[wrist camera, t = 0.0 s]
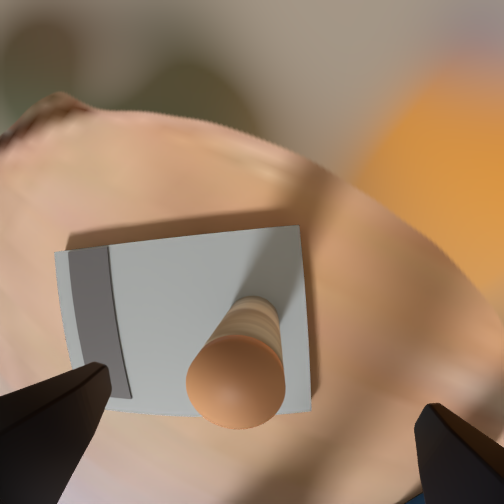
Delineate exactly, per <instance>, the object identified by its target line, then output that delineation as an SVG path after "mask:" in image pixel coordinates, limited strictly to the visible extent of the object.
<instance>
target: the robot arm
mask: <svg viewBox="0 0 504 504" xmlns="http://www.w3.org/2000/svg"><path fill="white" fill-rule="evenodd" d="M111 392H112V384H111V379H110V373H109V368H108V366H107V365H105V364H102V363H99V362H91V363H89V364H86V365H83V366H81V367H78V368H76V369H73V370H71V371H68V372H65V373H63V374H60V375H58V376H55V377H52V378H50V379H47V380H44V381H42V382H39V383H36V384H34V385H31V386H28V387H25V388H23V389H20V390H17V391H14V392H11V393H9V394H6V395H3V396H0V504H57V503H58V501H59V499H60V497H61V495H62V493H63V491H64V489H65V487H66V485H67V484H68V482H69V480H70V478H71V476H72V474H73V472H74V470H75V469H76V467H77V465H78V463H79V461H80V459H81V458H82V456H83V454H84V452H85V450H86V448H87V447H88V445H89V443H90V441H91V439H92V437H93V436H94V434H95V431H96V429H97V427H98V424H99V422H100V419H101V417H102V414H103V412H104V410H105V407H106V405H107V403H108V400H109V398H110V396H111ZM414 433H415V441H416V449H417V457H418V467H419V473H420V479H421V484H422V489H423V494H424V499H425V504H504V447H502V446H501V445H499V444H498V443H496V442H495V441H493V440H492V439H490V438H489V437H488V436H486V435H485V434H483V433H482V432H480V431H479V430H477V429H476V428H475V427H473V426H472V425H470V424H469V423H467V422H466V421H464V420H463V419H462V418H460V417H459V416H457V415H456V414H454V413H453V412H452V411H450V410H449V409H447V408H446V407H444V406H443V405H442V404H440V403H429V404H427V405H426V406H425V407H424V409H423V411H422V412H421V414H420V416H419V418H418V420H417V421H416V423H415V427H414Z"/></svg>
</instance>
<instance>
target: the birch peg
mask: <svg viewBox="0 0 504 504" xmlns="http://www.w3.org/2000/svg"><path fill="white" fill-rule="evenodd" d="M186 390H187V395H188V397H189V400H190V402H191V403H192V405H193V407H194V408H195V409H196V411H197V412H198V413H199V414H200V415H201V416H203V417H204V418H205V419H207V420H208V421H210V422H212V423H214V424H216V425H218V426H221V427H225V428H229V429H248V428H253V427H256V426H259V425H261V424H263V423H265V422H267V421H268V420H269V419H271V418H272V417H273V416H274V415H275V414H276V413H277V412H278V410H279V409H280V407H281V405H282V403H283V401H284V398H285V392H286V385H285V375H284V365H283V355H282V345H281V335H280V326H279V317H278V313H277V311H276V309H275V307H274V306H273V304H272V303H271V302H269V301H268V300H266V299H265V298H262V297H259V296H246V297H243V298H241V299H239V300H237V301H236V302H235V303H234V304H233V305H232V306H231V308H230V309H229V311H228V312H227V313H226V315H225V316H224V318H223V319H222V321H221V322H220V323H219V325H218V326H217V328H216V329H215V330H214V332H213V333H212V335H211V336H210V338H209V339H208V340H207V342H206V343H205V345H204V346H203V347H202V349H201V350H200V352H199V353H198V354H197V356H196V357H195V359H194V360H193V361H192V363H191V365H190V367H189V369H188V372H187V376H186Z"/></svg>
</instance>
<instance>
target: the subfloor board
mask: <svg viewBox="0 0 504 504" xmlns="http://www.w3.org/2000/svg"><path fill="white" fill-rule="evenodd" d="M102 247H108V250H109V262H110V272H111V282H112V290H113V298H114V306H115V313H116V319H117V326H118V332H119V338H120V343H121V349H122V354H123V359H124V364H125V369H126V374H127V378H128V383H129V387H130V391H131V395H132V399H123V398H113V397H110V398H109V400H108V403H107V405H106V407H105V410H112V411H120V412H129V413H139V414H151V415H166V416H187V417H203V416H201V415H200V414H199V413H198V412H197V411H196V409H195V408H194V407H193V405H192V403H191V402H190V400H189V397H188V395H187V390H186V376H187V372H188V369H189V367H190V365H191V363H192V361H193V360H194V359H195V357H196V356H197V354H198V353H199V352H200V350H201V349H202V347H203V346H204V345H205V343H206V342H207V340H208V339H209V338H210V336H211V335H212V333H213V332H214V330H215V329H216V328H217V326H218V325H219V323H220V322H221V321H222V319H223V318H224V316H225V315H226V313H227V312H228V311H229V309H230V308H231V306H232V305H233V304H234V303H235V302H236V301H237V300H239V299H241V298H243V297H246V296H259V297H262V298H265V299H266V300H268V301H269V302H271V303H272V304H273V306H274V307H275V309H276V311H277V313H278V317H279V326H280V335H281V345H282V355H283V365H284V375H285V385H286V392H285V398H284V401H283V403H282V405H281V407H280V409H279V410H278V412H277V413H276V414H275V415H277V414H289V413H299V412H309V411H311V384H310V361H309V342H308V325H307V310H306V296H305V283H304V271H303V260H302V249H301V238H300V228H299V225H292V226H281V227H271V228H260V229H250V230H240V231H230V232H220V233H210V234H201V235H192V236H183V237H173V238H165V239H156V240H147V241H139V242H130V243H122V244H114V245H106V246H98V247H90V248H82V249H75V250H67V251H60V252H54V254H55V266H56V277H57V286H58V294H59V301H60V308H61V315H62V321H63V327H64V332H65V337H66V343H67V347H68V352H69V357H70V361H71V365H72V370H73V369H76V368H78V367H81V366H83V365H85V364H84V360H83V355H82V350H81V346H80V340H79V335H78V330H77V324H76V318H75V312H74V305H73V298H72V290H71V281H70V272H69V260H68V252H71V251H78V250H86V249H94V248H102Z"/></svg>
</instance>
